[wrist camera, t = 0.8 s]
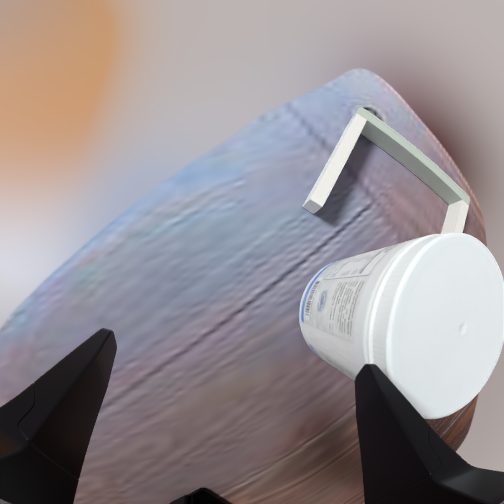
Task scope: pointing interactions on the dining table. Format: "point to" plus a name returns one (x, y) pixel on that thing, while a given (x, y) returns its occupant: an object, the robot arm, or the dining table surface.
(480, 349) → the supplement tub
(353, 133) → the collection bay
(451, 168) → the dining table surface
